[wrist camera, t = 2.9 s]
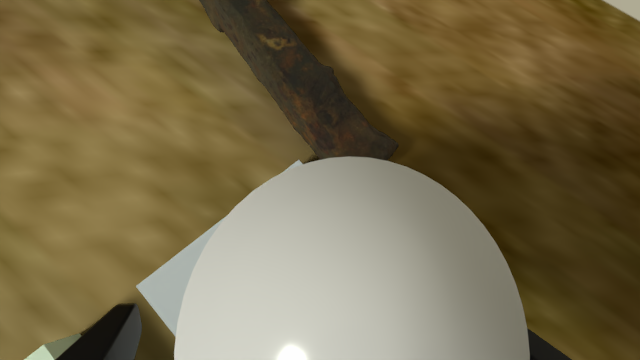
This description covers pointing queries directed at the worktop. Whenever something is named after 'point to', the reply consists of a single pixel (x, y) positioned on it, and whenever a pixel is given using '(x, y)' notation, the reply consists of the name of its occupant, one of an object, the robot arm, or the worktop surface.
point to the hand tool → (298, 81)
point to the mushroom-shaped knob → (351, 273)
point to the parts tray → (53, 349)
